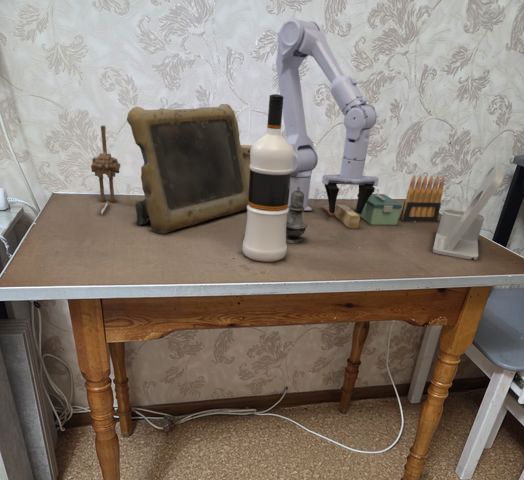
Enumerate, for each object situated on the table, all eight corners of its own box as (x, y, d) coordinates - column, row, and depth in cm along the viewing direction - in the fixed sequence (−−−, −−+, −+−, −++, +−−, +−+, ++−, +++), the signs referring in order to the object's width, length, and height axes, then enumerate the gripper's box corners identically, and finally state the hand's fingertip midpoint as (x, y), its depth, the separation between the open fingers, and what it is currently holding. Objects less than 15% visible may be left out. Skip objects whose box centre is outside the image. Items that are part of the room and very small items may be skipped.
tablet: (173, 238, 106) (170, 112, 93) (127, 225, 112) (118, 104, 99) (253, 210, 130) (259, 107, 118) (211, 200, 136) (213, 101, 123)
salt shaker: (298, 245, 108) (304, 191, 102) (275, 239, 111) (280, 186, 104) (309, 239, 112) (316, 186, 106) (287, 234, 115) (293, 182, 109)
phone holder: (436, 232, 125) (455, 159, 116) (477, 239, 122) (500, 165, 113) (432, 252, 111) (453, 170, 102) (478, 260, 108) (504, 177, 99)
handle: (231, 201, 137) (233, 144, 129) (252, 201, 139) (256, 145, 131) (234, 205, 133) (237, 147, 125) (257, 205, 135) (261, 148, 127)
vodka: (233, 251, 102) (240, 91, 86) (268, 245, 107) (281, 92, 91) (258, 266, 96) (271, 96, 80) (294, 259, 101) (313, 97, 85)
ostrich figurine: (97, 197, 130) (90, 124, 121) (123, 198, 132) (117, 126, 122) (86, 214, 116) (77, 133, 107) (115, 215, 117) (108, 135, 108)
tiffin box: (370, 225, 127) (375, 201, 123) (353, 212, 137) (357, 189, 134) (398, 225, 128) (403, 201, 125) (379, 212, 138) (384, 190, 135)
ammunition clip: (402, 221, 132) (413, 175, 126) (399, 219, 134) (409, 174, 128) (437, 221, 135) (448, 176, 129) (433, 219, 136) (445, 175, 130)
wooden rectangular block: (322, 208, 137) (324, 197, 136) (339, 209, 138) (340, 197, 137) (344, 228, 122) (346, 215, 121) (362, 228, 123) (365, 216, 122)
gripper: (331, 160, 116) (323, 216, 123) (387, 162, 119) (376, 217, 126) (322, 154, 122) (315, 208, 129) (375, 157, 125) (366, 209, 132)
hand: (345, 212), depth 128 cm, fingers open, 7 cm apart
